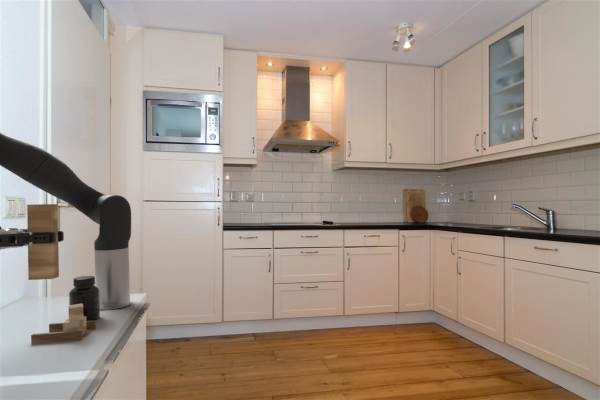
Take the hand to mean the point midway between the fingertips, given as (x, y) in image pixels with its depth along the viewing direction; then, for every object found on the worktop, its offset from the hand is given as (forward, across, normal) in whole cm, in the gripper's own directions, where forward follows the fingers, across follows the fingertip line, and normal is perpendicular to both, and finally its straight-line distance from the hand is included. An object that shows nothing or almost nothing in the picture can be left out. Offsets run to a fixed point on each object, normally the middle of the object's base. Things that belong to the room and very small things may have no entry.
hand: (58, 236), depth 78 cm
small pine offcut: (-1, +8, +19) cm, 21 cm away
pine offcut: (-1, +8, +23) cm, 24 cm away
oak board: (-3, 0, +8) cm, 9 cm away
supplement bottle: (-4, +20, +24) cm, 32 cm away
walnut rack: (-3, +8, +24) cm, 26 cm away
